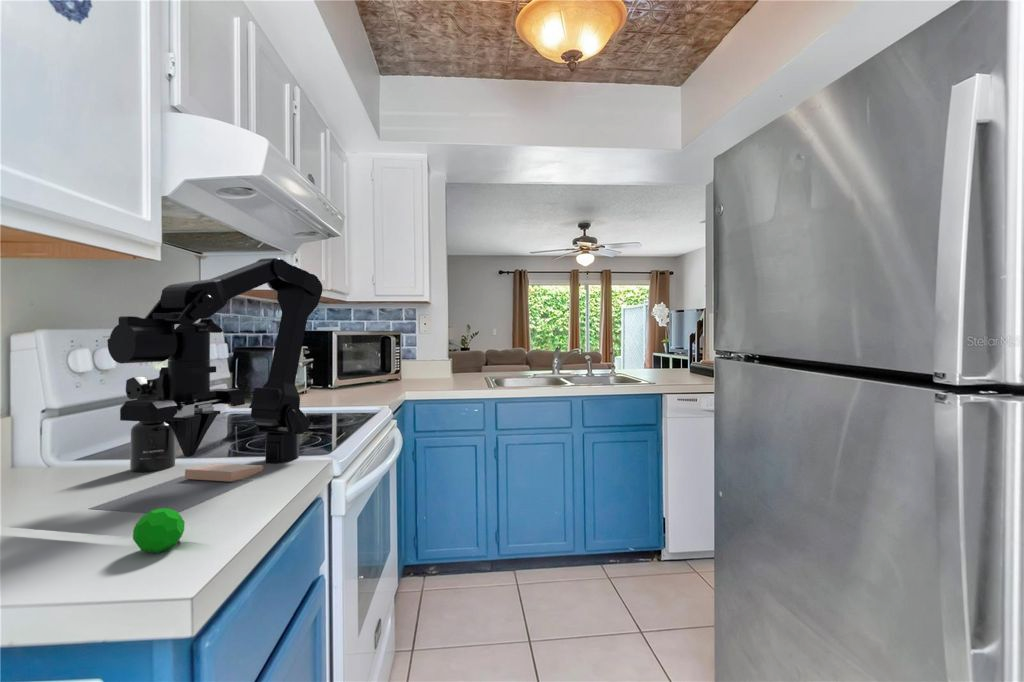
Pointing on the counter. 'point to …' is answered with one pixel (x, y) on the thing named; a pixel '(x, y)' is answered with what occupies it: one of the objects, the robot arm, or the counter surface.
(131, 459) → the supplement bottle
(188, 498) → the mat
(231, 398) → the robot arm
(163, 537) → the polyhedron
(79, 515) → the counter surface
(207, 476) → the tile
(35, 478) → the counter surface
